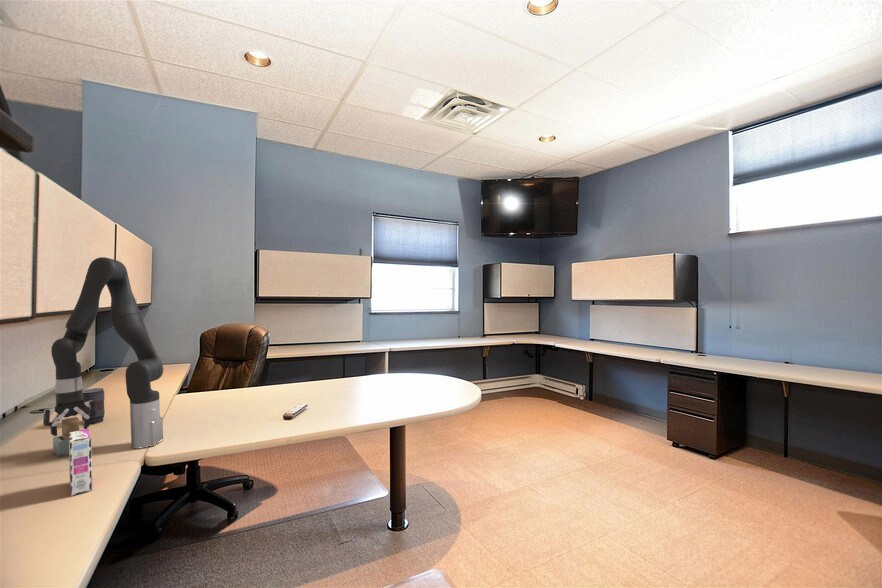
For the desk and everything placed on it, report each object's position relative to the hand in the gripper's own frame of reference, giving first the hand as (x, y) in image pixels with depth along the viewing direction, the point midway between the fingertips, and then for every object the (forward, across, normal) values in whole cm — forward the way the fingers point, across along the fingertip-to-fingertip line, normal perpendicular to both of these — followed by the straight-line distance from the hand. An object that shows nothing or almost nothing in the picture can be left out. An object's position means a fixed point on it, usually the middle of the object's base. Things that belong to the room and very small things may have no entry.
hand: (70, 432), depth 148 cm
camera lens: (+7, +15, +34) cm, 38 cm away
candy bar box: (+7, -6, -40) cm, 41 cm away
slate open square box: (+7, 0, 0) cm, 7 cm away
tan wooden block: (+6, 0, 0) cm, 6 cm away
